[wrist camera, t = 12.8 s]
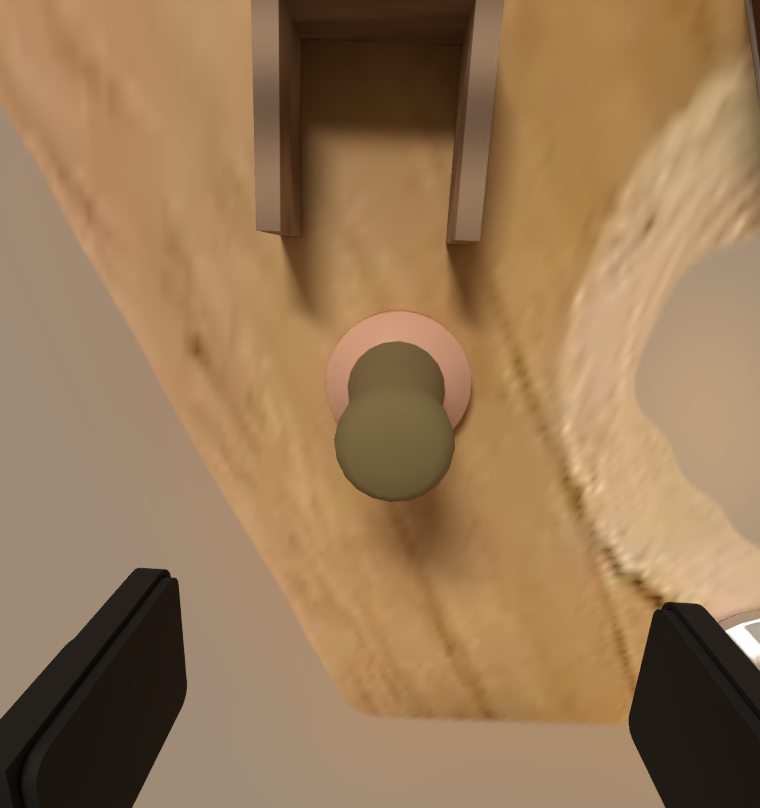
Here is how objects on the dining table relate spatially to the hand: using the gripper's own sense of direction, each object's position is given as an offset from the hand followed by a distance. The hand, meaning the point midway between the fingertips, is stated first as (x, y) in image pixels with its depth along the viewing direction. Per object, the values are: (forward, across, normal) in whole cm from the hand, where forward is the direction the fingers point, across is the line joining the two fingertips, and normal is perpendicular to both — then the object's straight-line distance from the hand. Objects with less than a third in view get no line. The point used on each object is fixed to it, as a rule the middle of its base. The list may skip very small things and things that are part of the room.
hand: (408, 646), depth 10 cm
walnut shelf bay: (+22, +2, -14) cm, 26 cm away
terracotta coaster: (+22, 0, 0) cm, 22 cm away
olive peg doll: (+22, 0, 0) cm, 22 cm away
